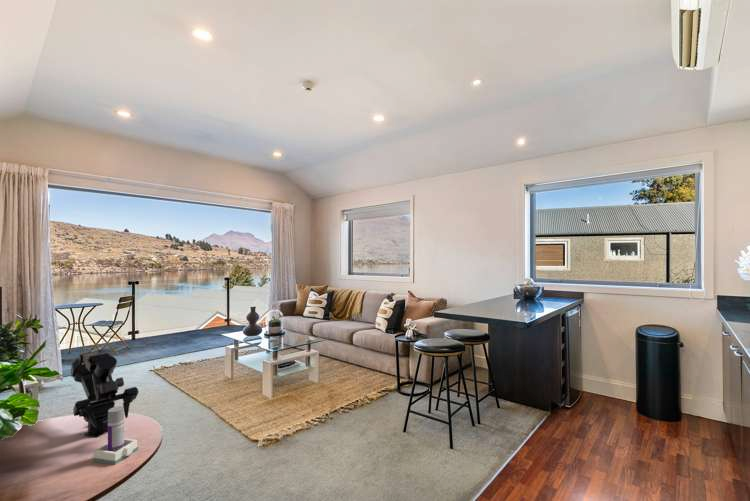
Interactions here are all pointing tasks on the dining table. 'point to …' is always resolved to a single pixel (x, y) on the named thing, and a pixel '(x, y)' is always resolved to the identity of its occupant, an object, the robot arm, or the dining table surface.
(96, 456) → the board
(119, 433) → the container
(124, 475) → the dining table surface
